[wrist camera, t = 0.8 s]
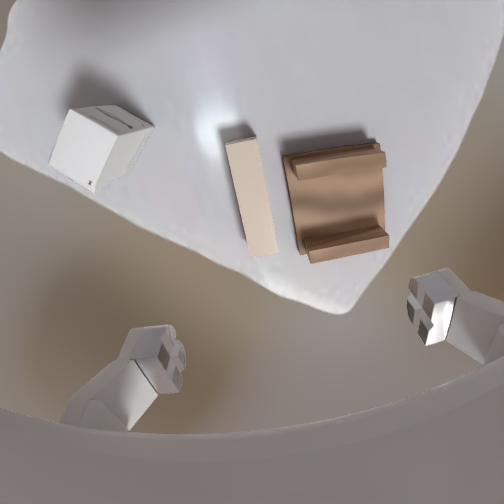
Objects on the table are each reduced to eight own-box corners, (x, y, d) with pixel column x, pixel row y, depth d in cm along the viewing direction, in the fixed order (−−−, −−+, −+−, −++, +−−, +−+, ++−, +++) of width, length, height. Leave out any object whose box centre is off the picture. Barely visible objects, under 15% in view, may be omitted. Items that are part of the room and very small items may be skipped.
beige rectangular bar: (227, 141, 38) (225, 145, 35) (256, 135, 38) (257, 138, 34) (250, 244, 46) (250, 257, 42) (276, 240, 45) (278, 252, 42)
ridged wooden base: (282, 156, 39) (286, 163, 35) (376, 142, 38) (391, 148, 33) (298, 251, 46) (304, 268, 42) (382, 235, 45) (394, 249, 40)
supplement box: (156, 126, 37) (120, 136, 26) (132, 170, 39) (92, 196, 28) (116, 102, 35) (69, 106, 23) (94, 146, 37) (45, 166, 26)
